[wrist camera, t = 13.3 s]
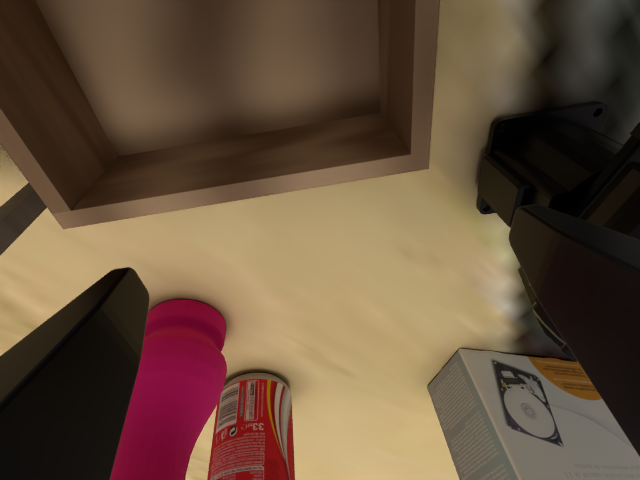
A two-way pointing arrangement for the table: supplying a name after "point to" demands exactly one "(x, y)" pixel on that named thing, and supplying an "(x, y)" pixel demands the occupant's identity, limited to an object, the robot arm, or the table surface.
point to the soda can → (253, 430)
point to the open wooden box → (207, 101)
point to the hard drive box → (528, 420)
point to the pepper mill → (172, 391)
